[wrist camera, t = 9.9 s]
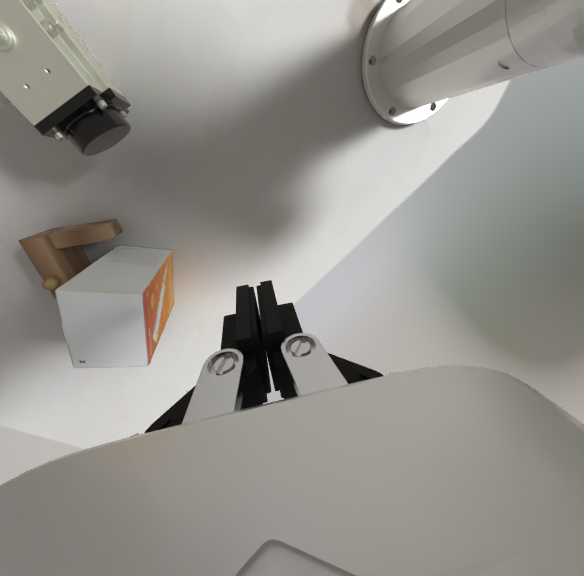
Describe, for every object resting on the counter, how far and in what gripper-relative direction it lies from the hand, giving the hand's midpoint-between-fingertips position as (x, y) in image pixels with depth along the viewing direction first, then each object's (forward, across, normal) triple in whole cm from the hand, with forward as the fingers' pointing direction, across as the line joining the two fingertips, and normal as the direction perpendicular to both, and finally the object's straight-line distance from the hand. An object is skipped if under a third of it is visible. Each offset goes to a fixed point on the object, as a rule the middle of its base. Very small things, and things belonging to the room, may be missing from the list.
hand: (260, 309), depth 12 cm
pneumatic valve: (+23, +12, -14) cm, 30 cm away
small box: (+23, +14, +6) cm, 28 cm away
